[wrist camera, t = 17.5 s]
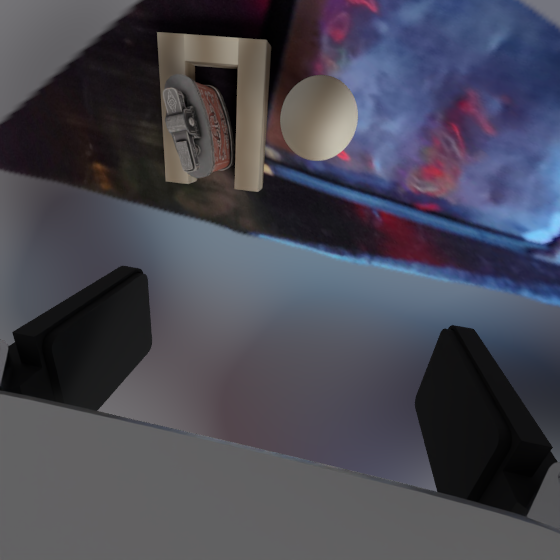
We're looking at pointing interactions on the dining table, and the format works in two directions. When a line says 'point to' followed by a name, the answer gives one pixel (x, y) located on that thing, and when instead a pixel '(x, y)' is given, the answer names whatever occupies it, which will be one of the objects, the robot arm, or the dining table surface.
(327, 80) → the bobbin
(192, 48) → the notched board
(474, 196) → the dining table surface
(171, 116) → the lighter
